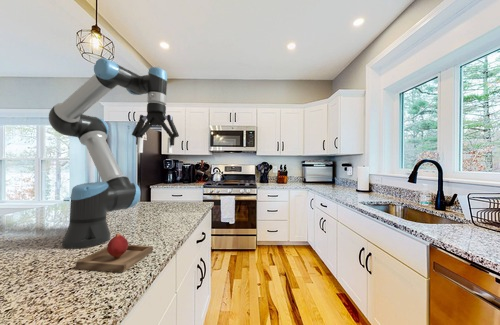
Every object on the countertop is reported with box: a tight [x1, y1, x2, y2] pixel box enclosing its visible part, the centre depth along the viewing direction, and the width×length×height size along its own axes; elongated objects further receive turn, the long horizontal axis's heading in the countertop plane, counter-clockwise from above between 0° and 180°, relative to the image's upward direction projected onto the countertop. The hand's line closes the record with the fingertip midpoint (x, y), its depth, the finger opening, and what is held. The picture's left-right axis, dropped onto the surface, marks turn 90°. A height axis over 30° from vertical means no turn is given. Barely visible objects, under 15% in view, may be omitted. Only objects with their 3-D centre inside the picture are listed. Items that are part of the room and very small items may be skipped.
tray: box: [75, 244, 154, 273], centre depth 68 cm, size 15×15×2 cm
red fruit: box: [106, 232, 129, 258], centre depth 68 cm, size 6×6×8 cm
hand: (154, 152), depth 90 cm, fingers open, 13 cm apart
